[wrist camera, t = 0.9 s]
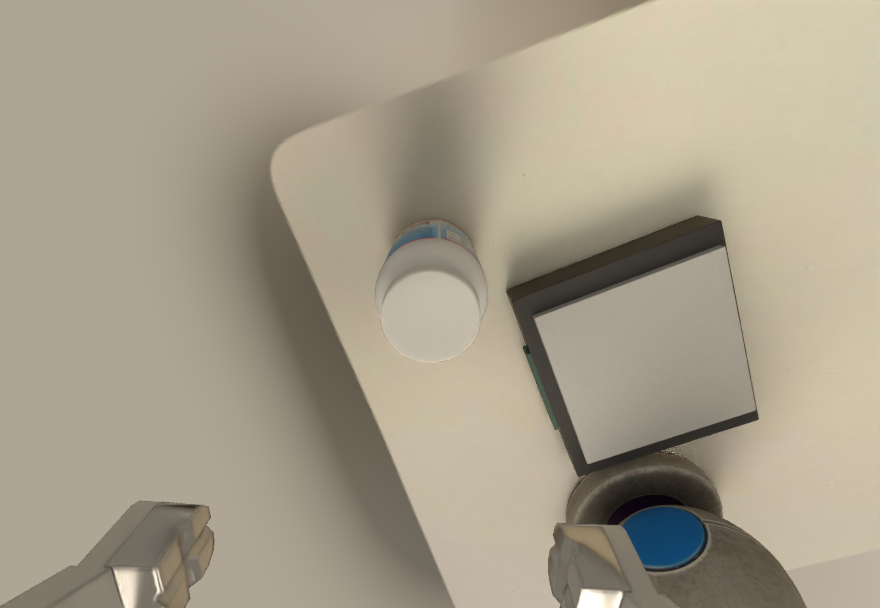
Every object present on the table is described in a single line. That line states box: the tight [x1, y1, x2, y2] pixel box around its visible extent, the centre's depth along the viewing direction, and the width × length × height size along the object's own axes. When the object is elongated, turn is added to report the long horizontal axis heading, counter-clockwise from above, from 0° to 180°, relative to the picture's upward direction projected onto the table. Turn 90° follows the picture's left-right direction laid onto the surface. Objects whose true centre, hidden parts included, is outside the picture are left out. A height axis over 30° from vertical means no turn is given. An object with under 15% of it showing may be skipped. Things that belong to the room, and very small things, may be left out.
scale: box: [506, 216, 759, 477], centre depth 30 cm, size 16×14×3 cm
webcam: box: [566, 452, 806, 608], centre depth 30 cm, size 13×13×15 cm
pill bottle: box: [375, 219, 488, 363], centre depth 24 cm, size 6×6×11 cm
